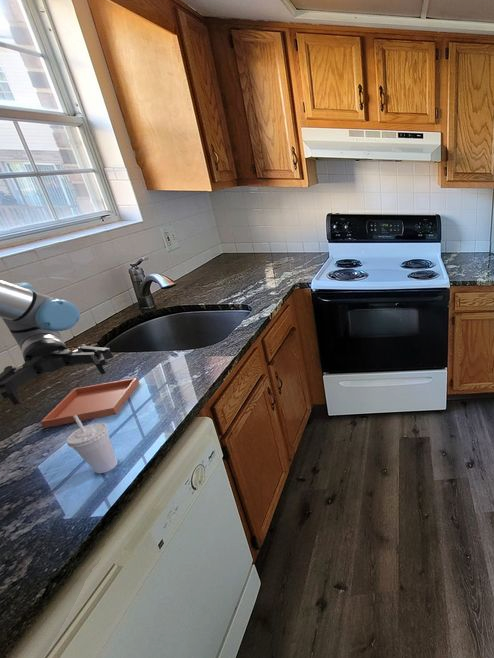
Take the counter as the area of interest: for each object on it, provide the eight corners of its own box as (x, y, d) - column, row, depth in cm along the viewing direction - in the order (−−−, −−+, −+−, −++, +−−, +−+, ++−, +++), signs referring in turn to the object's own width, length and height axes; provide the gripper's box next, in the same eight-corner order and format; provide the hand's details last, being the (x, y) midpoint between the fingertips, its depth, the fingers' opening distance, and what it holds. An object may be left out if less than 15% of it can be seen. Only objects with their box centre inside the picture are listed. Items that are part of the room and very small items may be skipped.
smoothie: (110, 453, 83) (82, 404, 77) (132, 457, 82) (105, 407, 76) (79, 476, 78) (46, 424, 72) (102, 480, 76) (71, 428, 70)
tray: (44, 428, 92) (40, 421, 91) (77, 394, 105) (74, 388, 104) (116, 413, 96) (113, 407, 95) (139, 383, 109) (137, 377, 108)
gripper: (116, 346, 100) (138, 371, 88) (-22, 390, 83) (-19, 429, 71) (104, 321, 97) (125, 344, 85) (-43, 362, 80) (-43, 397, 67)
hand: (59, 383), depth 78 cm, fingers open, 13 cm apart
